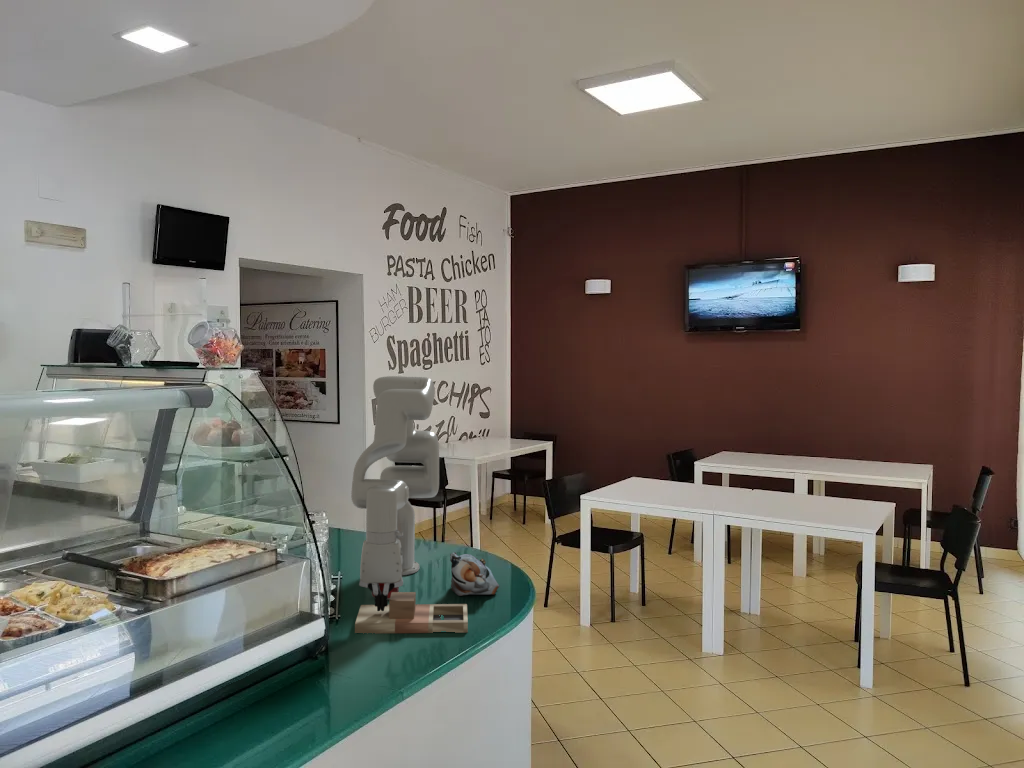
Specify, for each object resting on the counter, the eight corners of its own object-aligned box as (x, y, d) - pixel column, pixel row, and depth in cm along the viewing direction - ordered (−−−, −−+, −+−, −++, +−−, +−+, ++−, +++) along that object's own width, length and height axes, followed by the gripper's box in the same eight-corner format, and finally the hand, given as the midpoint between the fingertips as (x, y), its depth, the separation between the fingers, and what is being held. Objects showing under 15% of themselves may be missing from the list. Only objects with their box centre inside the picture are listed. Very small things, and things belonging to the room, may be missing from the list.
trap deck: (361, 614, 193) (361, 604, 193) (466, 613, 195) (466, 603, 195) (354, 633, 181) (354, 623, 181) (467, 632, 183) (467, 622, 183)
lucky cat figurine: (508, 592, 211) (503, 557, 203) (474, 617, 205) (468, 581, 197) (474, 564, 221) (468, 529, 213) (442, 587, 215) (434, 552, 207)
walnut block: (391, 609, 190) (391, 592, 190) (415, 609, 191) (415, 592, 190) (389, 618, 184) (389, 601, 184) (413, 618, 185) (414, 600, 184)
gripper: (413, 532, 190) (412, 603, 191) (353, 532, 189) (352, 603, 190) (411, 540, 183) (410, 614, 184) (348, 540, 182) (348, 615, 183)
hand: (381, 608), depth 187 cm, fingers closed
